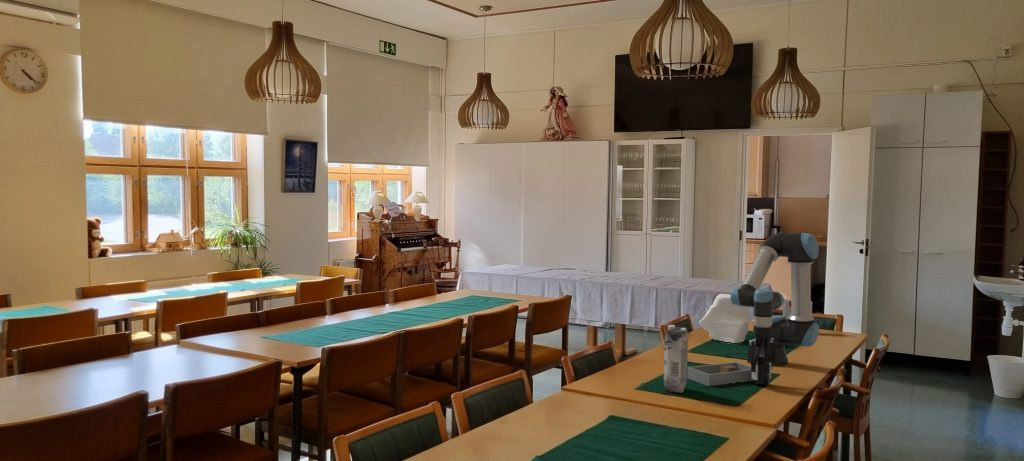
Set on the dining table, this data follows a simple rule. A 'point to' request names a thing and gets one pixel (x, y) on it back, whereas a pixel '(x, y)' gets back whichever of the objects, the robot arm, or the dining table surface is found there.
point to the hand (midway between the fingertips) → (761, 378)
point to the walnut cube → (727, 368)
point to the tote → (719, 374)
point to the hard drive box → (789, 308)
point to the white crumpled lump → (726, 320)
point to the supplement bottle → (763, 370)
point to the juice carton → (675, 359)
